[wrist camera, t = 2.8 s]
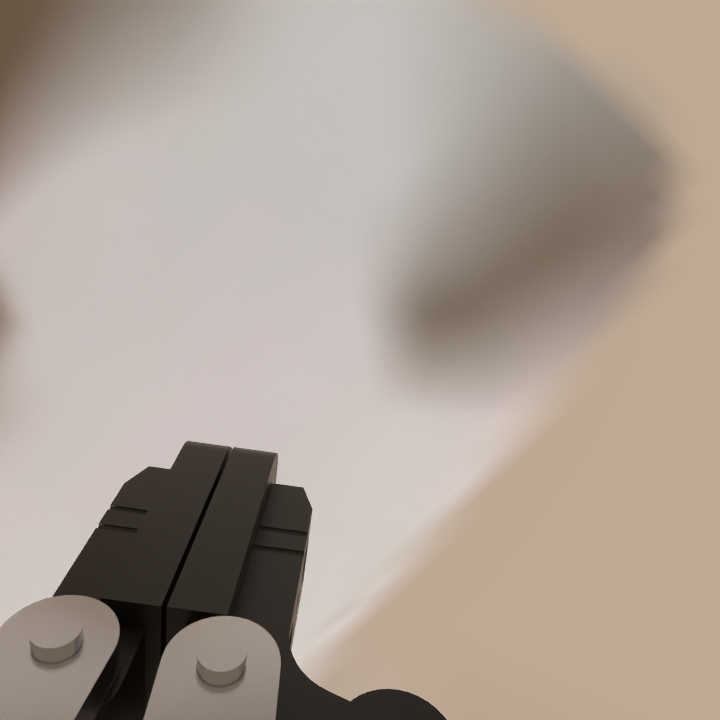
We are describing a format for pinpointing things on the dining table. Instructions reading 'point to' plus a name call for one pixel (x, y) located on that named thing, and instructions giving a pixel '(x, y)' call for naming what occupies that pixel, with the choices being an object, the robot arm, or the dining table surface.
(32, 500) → the dining table surface
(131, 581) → the robot arm
